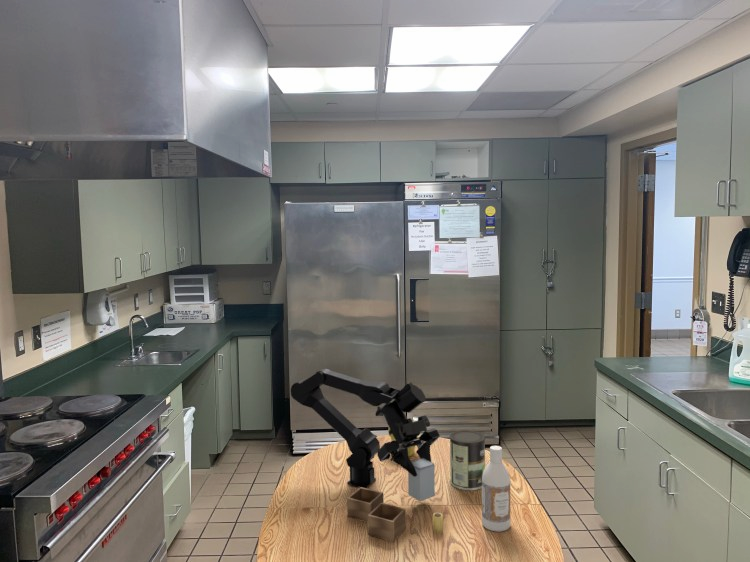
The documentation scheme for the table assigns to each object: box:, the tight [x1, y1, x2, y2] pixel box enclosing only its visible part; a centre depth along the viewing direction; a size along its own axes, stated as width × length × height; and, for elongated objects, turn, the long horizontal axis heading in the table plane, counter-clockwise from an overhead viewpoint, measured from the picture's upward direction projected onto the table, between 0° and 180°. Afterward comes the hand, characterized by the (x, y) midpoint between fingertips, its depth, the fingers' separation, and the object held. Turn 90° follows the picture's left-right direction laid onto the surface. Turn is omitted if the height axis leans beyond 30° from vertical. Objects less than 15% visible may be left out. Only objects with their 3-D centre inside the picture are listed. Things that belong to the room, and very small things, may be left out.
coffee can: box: [449, 429, 486, 491], centre depth 156 cm, size 10×10×14 cm
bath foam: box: [481, 445, 511, 533], centre depth 132 cm, size 7×7×20 cm
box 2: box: [367, 503, 407, 543], centre depth 131 cm, size 7×7×5 cm
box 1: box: [346, 487, 385, 523], centre depth 139 cm, size 7×7×5 cm
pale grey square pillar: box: [407, 458, 436, 503], centre depth 143 cm, size 5×5×9 cm
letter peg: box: [432, 512, 444, 534], centre depth 131 cm, size 2×2×4 cm
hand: (423, 473), depth 142 cm, fingers closed on pale grey square pillar, 5 cm apart
